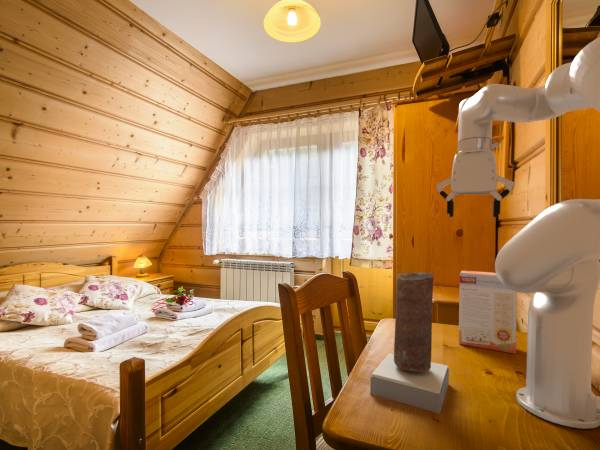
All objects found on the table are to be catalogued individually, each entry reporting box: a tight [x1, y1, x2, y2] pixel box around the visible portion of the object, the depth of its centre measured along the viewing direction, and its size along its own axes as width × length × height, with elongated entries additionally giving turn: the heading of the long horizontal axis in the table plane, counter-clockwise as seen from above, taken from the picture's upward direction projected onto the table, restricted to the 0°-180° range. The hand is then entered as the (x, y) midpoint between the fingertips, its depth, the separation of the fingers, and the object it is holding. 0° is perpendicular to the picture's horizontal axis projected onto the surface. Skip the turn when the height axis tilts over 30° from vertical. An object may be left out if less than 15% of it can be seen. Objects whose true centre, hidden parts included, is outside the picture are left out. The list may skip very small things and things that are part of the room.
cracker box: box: [458, 270, 518, 355], centre depth 94 cm, size 14×6×21 cm, turn 59°
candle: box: [393, 272, 434, 372], centre depth 68 cm, size 8×7×20 cm
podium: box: [369, 352, 450, 415], centre depth 68 cm, size 13×13×4 cm
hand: (472, 217), depth 83 cm, fingers open, 9 cm apart
